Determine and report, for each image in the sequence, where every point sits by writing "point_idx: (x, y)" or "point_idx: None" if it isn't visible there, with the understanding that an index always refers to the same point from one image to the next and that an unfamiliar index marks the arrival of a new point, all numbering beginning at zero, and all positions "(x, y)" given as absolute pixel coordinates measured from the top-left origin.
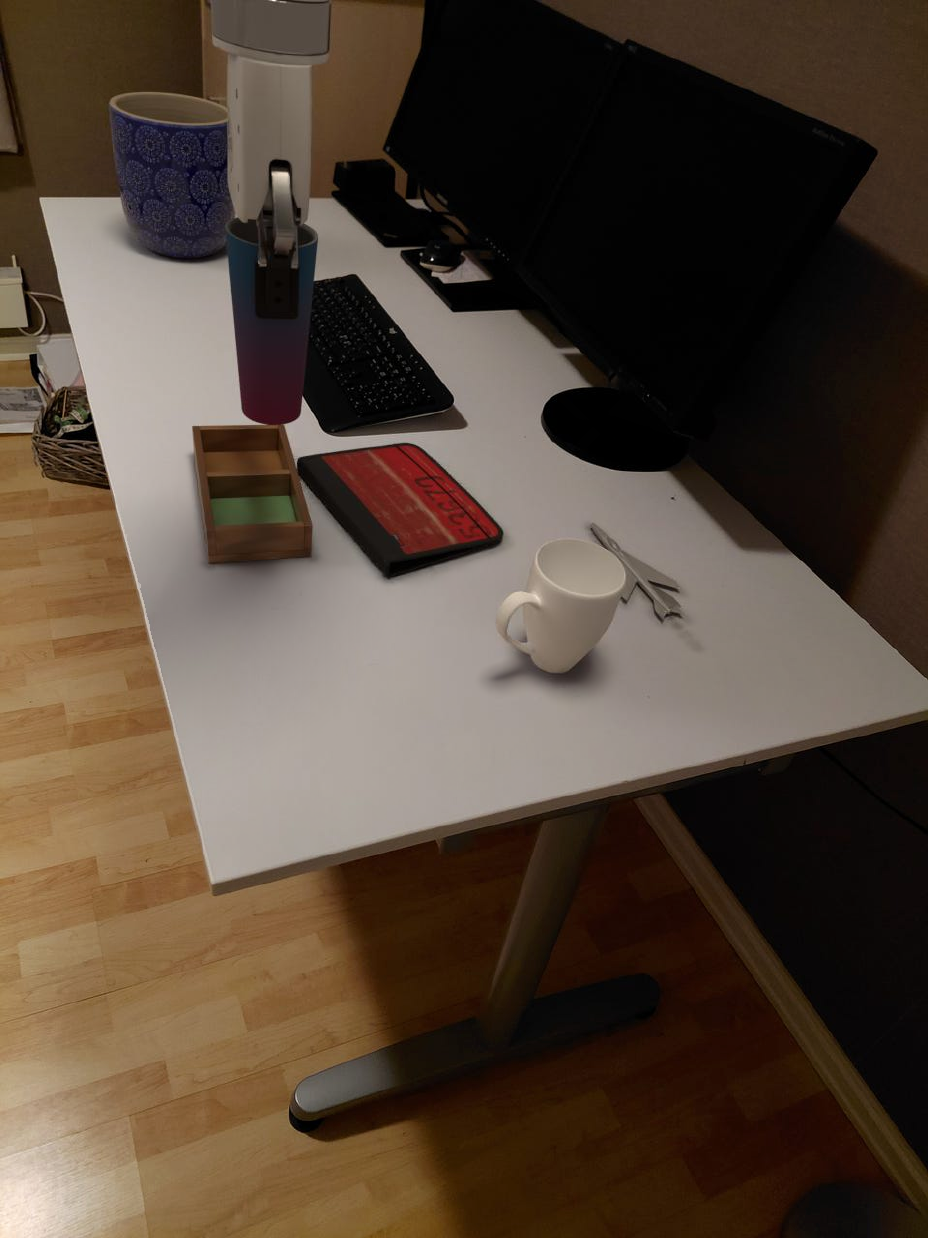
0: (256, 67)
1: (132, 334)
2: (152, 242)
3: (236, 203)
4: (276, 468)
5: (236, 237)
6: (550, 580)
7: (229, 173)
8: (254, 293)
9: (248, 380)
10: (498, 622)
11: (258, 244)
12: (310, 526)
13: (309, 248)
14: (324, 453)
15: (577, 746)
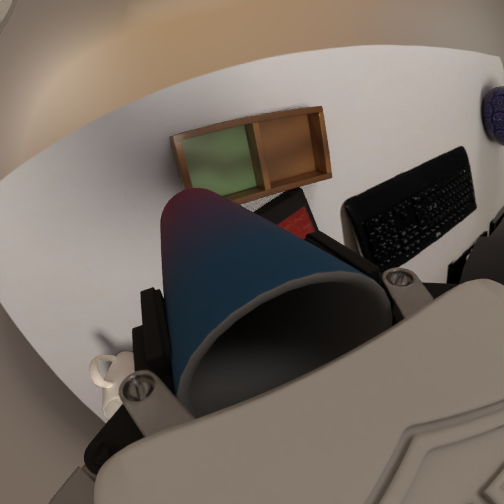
0: None
1: (426, 73)
2: (487, 97)
3: (157, 481)
4: (292, 171)
5: (207, 338)
6: None
7: (445, 376)
8: (154, 308)
9: (168, 217)
10: (92, 362)
11: (149, 411)
12: None
13: None
14: (308, 208)
15: (71, 368)
